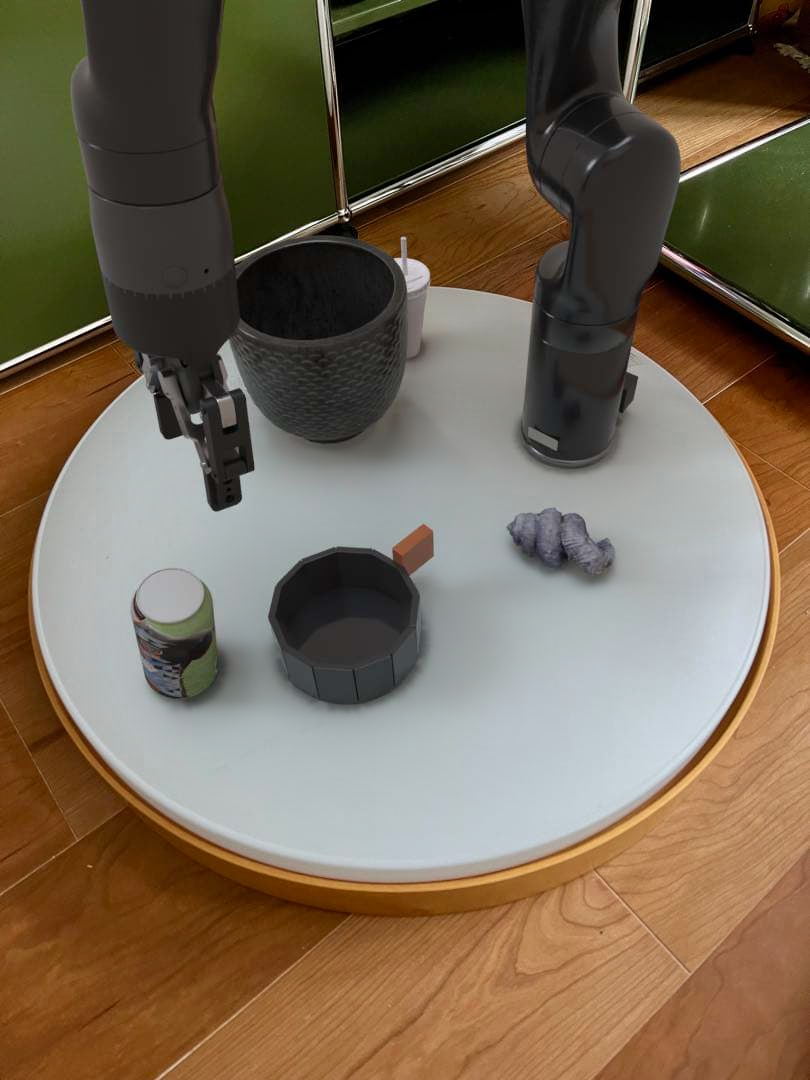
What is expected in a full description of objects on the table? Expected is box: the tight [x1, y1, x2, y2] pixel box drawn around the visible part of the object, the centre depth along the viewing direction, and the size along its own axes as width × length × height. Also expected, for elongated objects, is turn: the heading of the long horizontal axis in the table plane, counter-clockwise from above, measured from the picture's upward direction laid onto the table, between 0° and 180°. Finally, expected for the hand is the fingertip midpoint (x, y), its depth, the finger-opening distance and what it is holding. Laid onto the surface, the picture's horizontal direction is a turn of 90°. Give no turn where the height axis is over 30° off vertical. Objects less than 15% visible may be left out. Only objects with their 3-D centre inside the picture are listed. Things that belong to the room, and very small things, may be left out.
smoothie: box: [393, 236, 431, 360], centre depth 95 cm, size 6×6×14 cm
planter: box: [228, 235, 408, 445], centre depth 88 cm, size 17×17×16 cm
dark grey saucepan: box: [267, 523, 435, 705], centre depth 75 cm, size 16×12×7 cm
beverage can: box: [130, 567, 219, 700], centre depth 71 cm, size 6×7×12 cm
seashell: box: [505, 506, 616, 577], centre depth 80 cm, size 5×5×10 cm
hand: (200, 467), depth 63 cm, fingers open, 8 cm apart
